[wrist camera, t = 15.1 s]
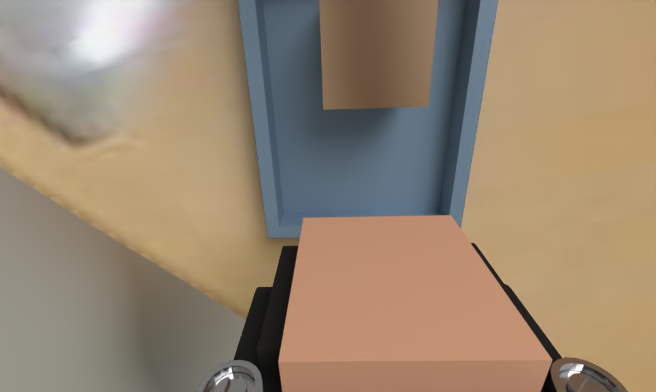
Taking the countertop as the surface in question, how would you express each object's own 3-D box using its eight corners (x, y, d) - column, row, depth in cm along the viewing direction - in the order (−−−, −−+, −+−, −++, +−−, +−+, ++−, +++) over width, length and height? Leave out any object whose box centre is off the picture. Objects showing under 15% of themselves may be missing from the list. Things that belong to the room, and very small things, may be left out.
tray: (484, -50, 16) (509, -66, 14) (446, 216, 22) (459, 235, 20) (245, -40, 16) (230, -54, 14) (274, 218, 23) (267, 237, 20)
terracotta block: (451, 215, 10) (552, 360, 5) (434, 324, 12) (499, 500, 7) (303, 217, 10) (278, 361, 5) (311, 325, 12) (296, 499, 7)
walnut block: (411, 0, 16) (440, -18, 12) (405, 92, 18) (428, 106, 14) (323, 3, 17) (318, -13, 12) (326, 94, 18) (323, 109, 14)
